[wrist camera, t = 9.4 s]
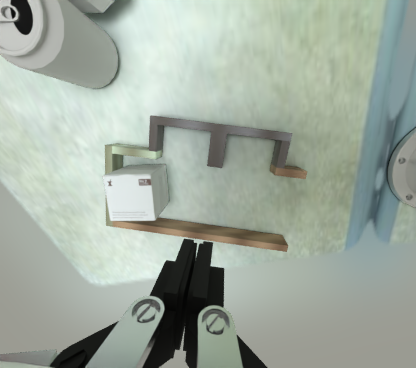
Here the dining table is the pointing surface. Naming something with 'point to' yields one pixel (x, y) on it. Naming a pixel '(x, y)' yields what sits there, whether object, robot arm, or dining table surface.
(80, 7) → the chicken leg
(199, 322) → the robot arm
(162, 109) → the dining table surface
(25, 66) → the can
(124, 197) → the skincare box
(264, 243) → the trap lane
